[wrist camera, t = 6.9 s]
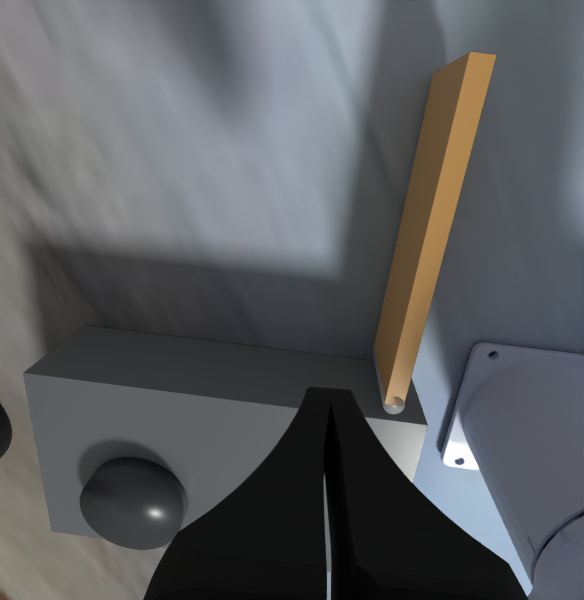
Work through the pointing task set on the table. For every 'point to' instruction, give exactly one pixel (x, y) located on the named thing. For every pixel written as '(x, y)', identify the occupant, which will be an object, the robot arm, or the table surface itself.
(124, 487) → the camera housing
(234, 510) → the robot arm
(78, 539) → the table surface
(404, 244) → the side door
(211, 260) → the table surface
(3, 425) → the camera lens
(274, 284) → the table surface
